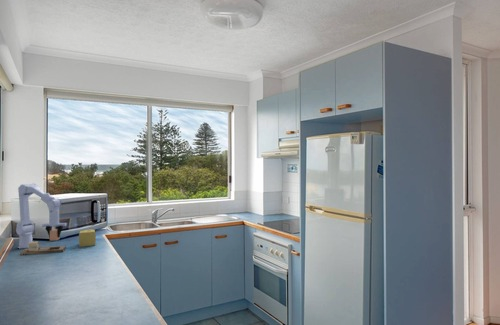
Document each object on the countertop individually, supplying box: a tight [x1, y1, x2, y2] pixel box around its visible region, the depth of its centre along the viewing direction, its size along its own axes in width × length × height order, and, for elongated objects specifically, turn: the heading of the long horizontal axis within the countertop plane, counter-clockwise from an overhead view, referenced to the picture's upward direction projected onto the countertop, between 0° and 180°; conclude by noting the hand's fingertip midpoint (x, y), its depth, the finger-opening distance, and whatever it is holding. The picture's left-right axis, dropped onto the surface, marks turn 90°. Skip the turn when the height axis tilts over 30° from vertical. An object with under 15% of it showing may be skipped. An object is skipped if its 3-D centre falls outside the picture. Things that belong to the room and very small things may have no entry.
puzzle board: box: [20, 245, 67, 256], centre depth 229 cm, size 11×24×2 cm, turn 109°
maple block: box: [29, 240, 39, 251], centre depth 227 cm, size 4×4×6 cm
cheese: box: [78, 228, 97, 248], centre depth 248 cm, size 10×11×10 cm
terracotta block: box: [49, 228, 60, 242], centre depth 232 cm, size 4×4×6 cm
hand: (54, 237), depth 232 cm, fingers closed on terracotta block, 4 cm apart
